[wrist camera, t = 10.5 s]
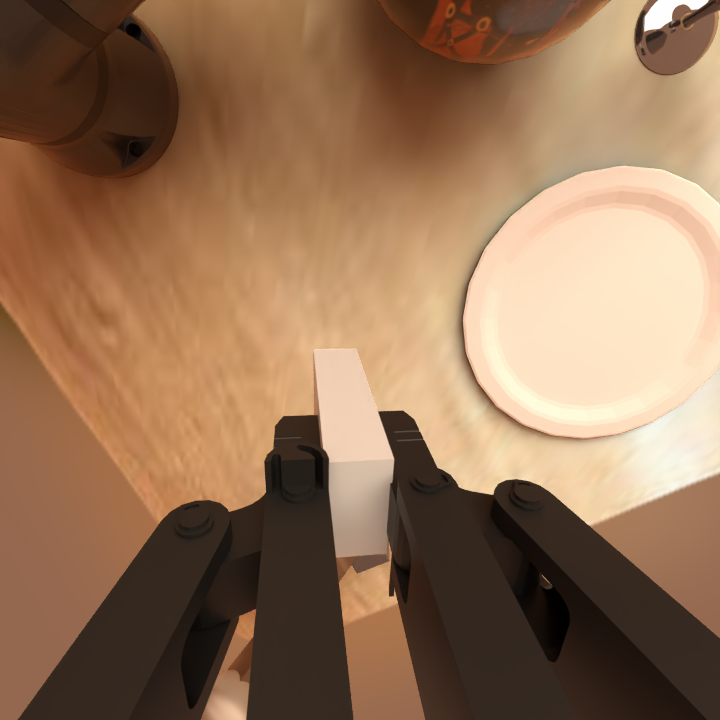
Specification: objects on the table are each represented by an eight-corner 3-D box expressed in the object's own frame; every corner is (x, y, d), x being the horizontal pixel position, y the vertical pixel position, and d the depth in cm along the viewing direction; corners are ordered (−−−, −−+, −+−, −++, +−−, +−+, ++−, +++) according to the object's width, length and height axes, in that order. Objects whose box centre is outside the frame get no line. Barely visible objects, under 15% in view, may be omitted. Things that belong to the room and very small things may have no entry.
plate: (681, 103, 41) (693, 98, 39) (772, 355, 48) (785, 359, 46) (411, 268, 46) (413, 270, 45) (529, 472, 54) (534, 480, 52)
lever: (368, 508, 48) (204, 724, 33) (386, 537, 49) (234, 759, 34) (342, 504, 51) (181, 700, 36) (359, 532, 52) (210, 733, 38)
